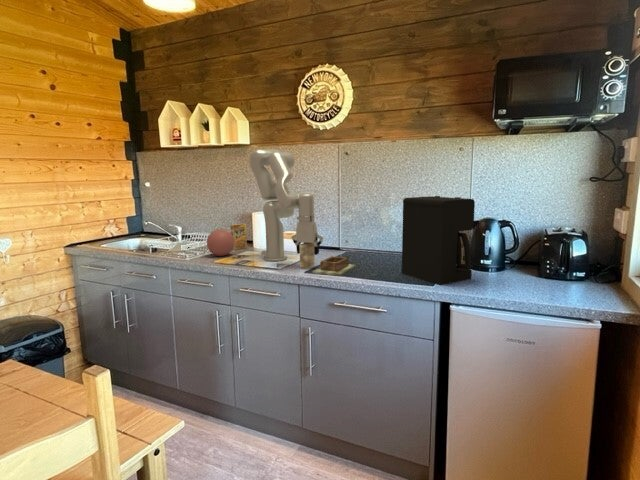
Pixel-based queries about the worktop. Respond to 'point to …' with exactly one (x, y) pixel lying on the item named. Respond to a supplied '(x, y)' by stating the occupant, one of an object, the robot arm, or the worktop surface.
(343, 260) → the brown open box
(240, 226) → the candy box
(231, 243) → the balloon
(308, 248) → the tan mottled block
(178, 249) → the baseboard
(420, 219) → the coffee maker
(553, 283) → the worktop surface
